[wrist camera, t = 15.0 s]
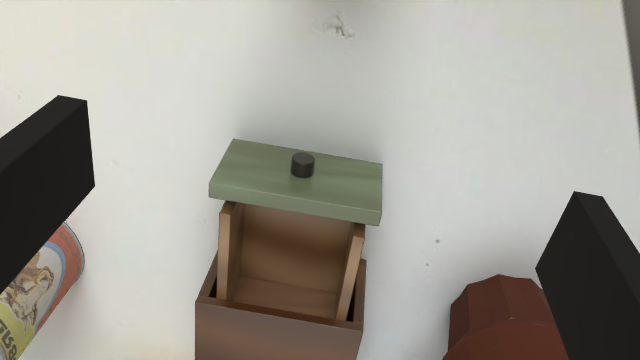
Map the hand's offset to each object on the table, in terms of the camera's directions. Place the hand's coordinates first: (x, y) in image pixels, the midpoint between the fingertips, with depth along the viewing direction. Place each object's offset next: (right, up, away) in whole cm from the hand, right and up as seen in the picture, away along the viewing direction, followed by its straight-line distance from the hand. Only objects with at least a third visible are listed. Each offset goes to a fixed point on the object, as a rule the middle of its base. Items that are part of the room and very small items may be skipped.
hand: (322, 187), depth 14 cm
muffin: (+16, -12, +33) cm, 38 cm away
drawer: (-2, -3, +28) cm, 28 cm away
